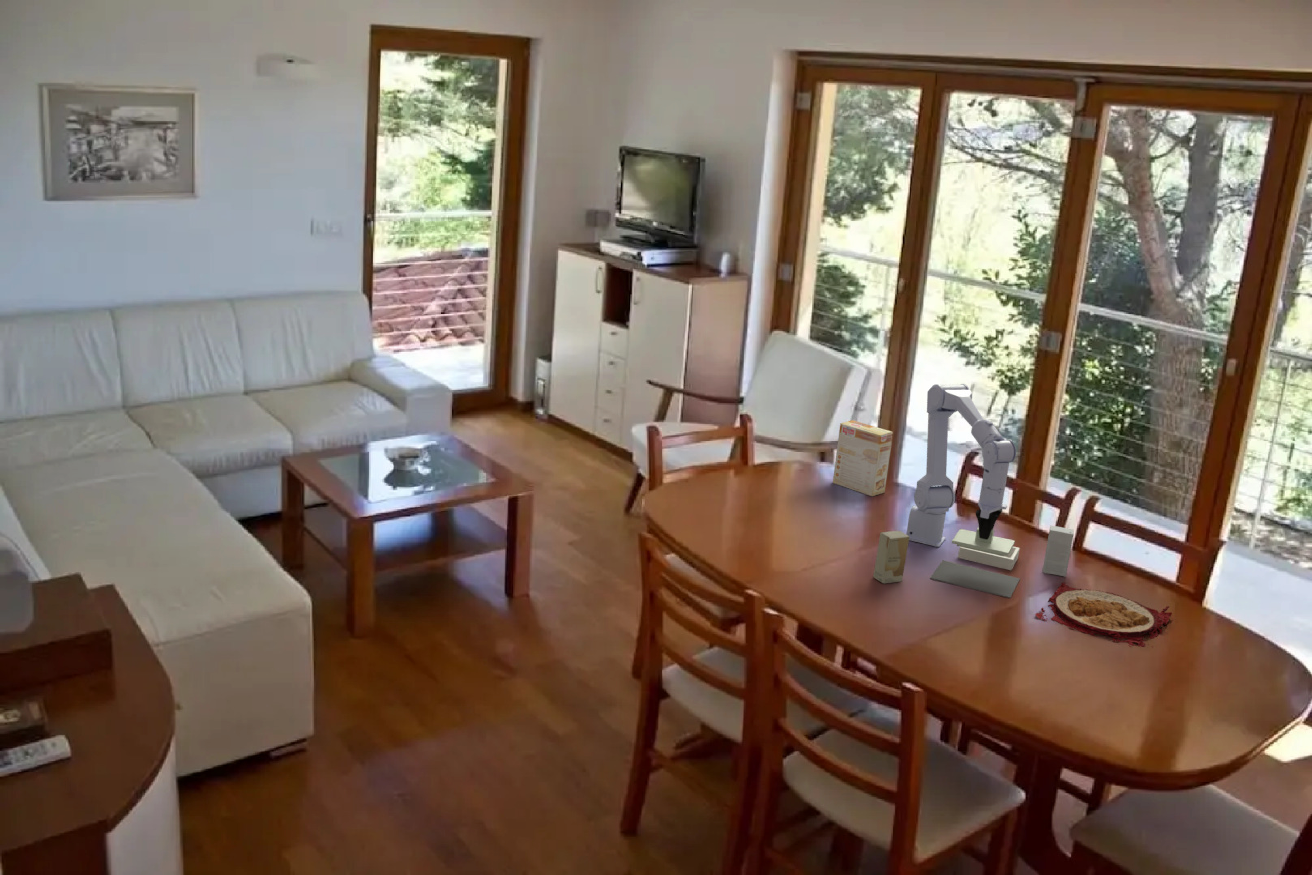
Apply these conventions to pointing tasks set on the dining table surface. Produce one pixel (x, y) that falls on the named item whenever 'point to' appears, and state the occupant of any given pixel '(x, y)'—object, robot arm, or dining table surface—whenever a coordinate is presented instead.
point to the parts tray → (990, 557)
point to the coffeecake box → (862, 457)
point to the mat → (975, 579)
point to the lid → (983, 542)
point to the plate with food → (1105, 614)
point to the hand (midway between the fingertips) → (984, 536)
